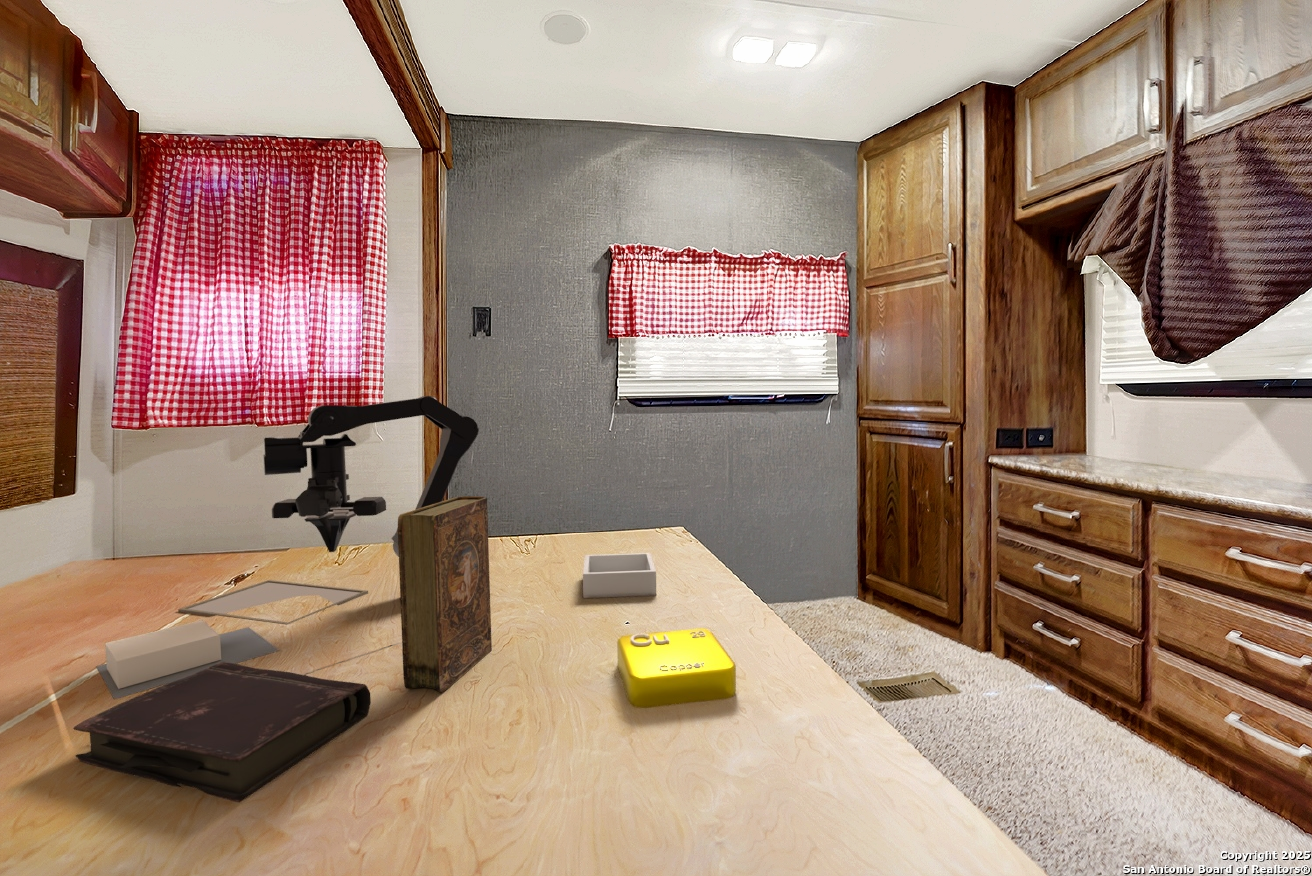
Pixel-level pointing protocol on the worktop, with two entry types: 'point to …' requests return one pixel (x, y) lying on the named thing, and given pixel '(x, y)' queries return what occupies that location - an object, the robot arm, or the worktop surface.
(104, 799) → the worktop surface
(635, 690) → the element tile
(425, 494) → the robot arm
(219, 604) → the picture frame
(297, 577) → the worktop surface
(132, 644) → the white rectangular block
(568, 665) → the worktop surface
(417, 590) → the book
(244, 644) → the mat
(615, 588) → the dish
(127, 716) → the diary
